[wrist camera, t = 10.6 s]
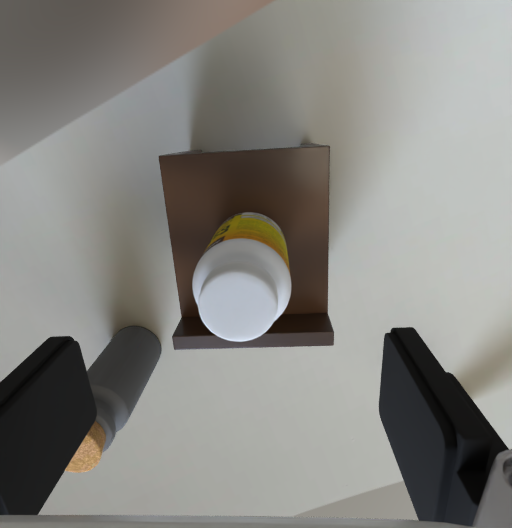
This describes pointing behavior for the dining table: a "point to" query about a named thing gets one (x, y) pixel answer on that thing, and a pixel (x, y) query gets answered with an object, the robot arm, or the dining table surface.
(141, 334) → the bottle
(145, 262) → the dining table surface
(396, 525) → the robot arm
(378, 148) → the dining table surface
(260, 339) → the shelf
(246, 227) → the supplement bottle
